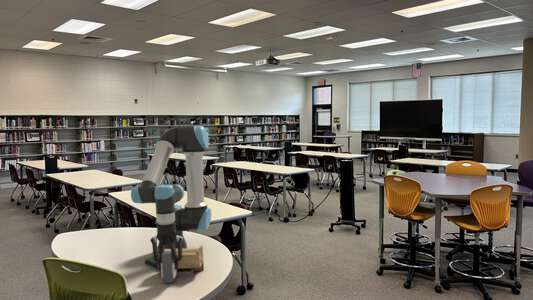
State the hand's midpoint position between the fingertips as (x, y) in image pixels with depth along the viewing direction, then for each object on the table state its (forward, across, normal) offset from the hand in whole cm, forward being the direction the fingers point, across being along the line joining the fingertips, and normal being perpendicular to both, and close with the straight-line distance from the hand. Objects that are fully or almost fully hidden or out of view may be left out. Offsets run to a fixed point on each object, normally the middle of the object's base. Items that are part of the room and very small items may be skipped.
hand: (169, 276), depth 164 cm
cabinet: (+3, +3, +10) cm, 10 cm away
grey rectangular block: (+2, 0, +4) cm, 5 cm away
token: (+3, +5, +8) cm, 10 cm away
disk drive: (+3, -10, +22) cm, 24 cm away
